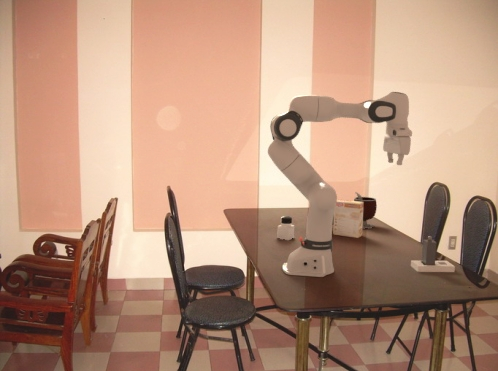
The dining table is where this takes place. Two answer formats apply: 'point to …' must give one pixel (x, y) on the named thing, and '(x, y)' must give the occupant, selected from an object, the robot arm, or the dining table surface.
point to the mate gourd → (367, 209)
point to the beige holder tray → (433, 266)
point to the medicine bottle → (285, 228)
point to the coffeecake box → (348, 218)
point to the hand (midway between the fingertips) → (394, 163)
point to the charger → (429, 251)
